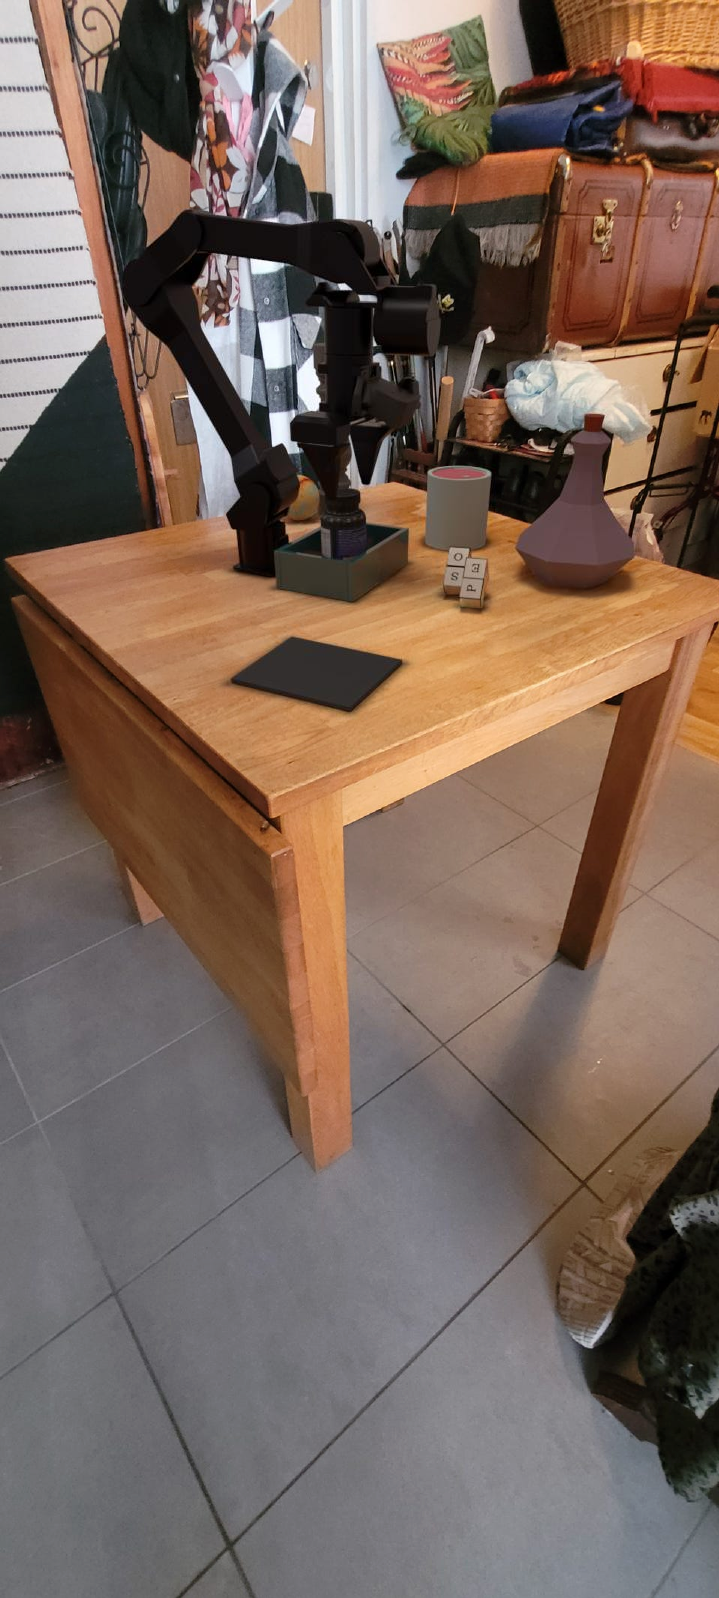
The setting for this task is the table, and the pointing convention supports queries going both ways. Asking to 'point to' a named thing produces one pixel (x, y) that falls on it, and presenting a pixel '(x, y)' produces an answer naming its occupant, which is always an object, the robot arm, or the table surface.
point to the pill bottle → (343, 526)
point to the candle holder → (346, 457)
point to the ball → (304, 500)
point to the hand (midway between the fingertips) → (349, 492)
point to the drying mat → (318, 673)
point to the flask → (578, 523)
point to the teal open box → (341, 564)
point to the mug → (457, 507)
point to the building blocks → (466, 577)
